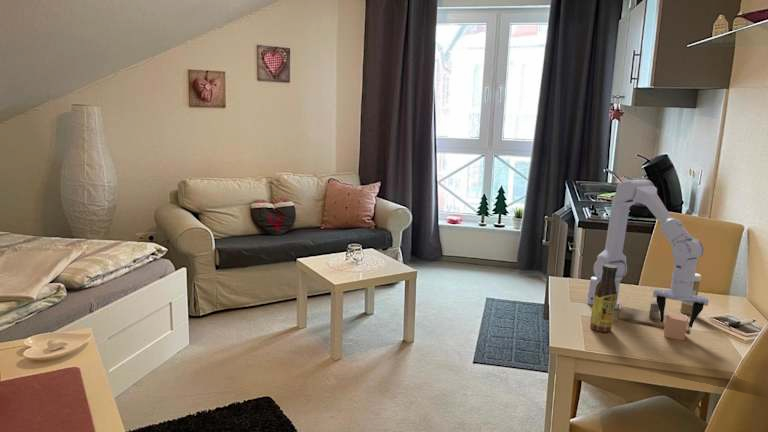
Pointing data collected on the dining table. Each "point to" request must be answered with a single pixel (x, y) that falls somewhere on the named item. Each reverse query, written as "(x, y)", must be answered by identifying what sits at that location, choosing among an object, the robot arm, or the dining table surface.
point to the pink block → (675, 326)
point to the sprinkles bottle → (687, 306)
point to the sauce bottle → (604, 300)
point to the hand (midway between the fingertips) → (676, 323)
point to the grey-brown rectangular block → (645, 316)
